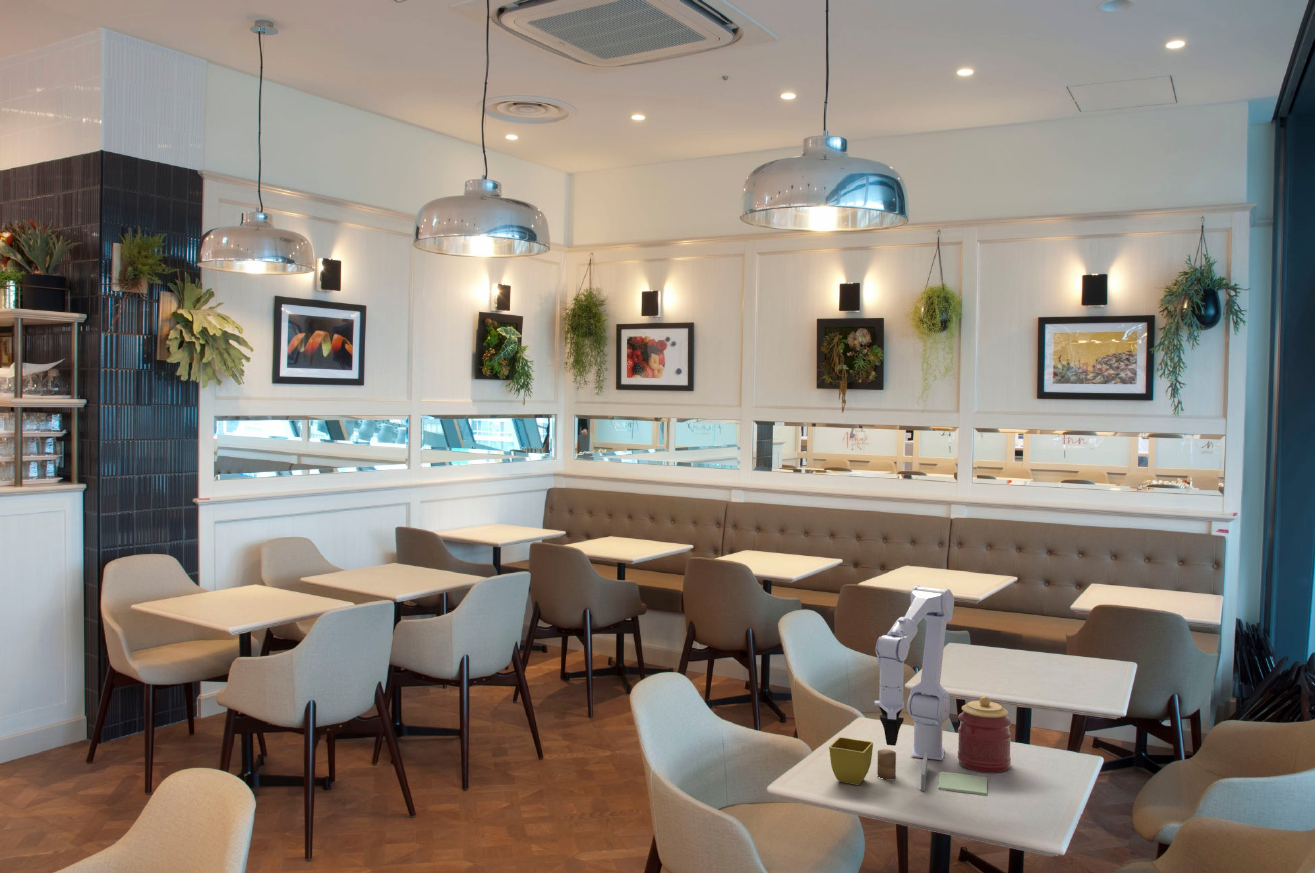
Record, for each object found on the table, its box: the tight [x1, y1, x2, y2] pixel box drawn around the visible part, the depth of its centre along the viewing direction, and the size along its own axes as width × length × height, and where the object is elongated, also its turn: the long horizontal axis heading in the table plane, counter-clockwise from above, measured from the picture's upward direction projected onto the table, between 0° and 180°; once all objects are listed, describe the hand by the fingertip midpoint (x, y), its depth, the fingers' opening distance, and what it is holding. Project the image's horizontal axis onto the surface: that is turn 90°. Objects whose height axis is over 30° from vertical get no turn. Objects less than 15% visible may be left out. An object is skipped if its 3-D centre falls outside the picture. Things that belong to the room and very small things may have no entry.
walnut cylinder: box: [876, 748, 897, 780], centre depth 238 cm, size 4×4×6 cm
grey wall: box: [920, 753, 929, 792], centre depth 236 cm, size 16×1×4 cm, turn 162°
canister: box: [957, 695, 1012, 774], centre depth 247 cm, size 13×13×18 cm
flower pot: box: [828, 736, 874, 786], centre depth 235 cm, size 9×9×9 cm
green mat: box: [937, 771, 988, 796], centre depth 234 cm, size 11×11×1 cm
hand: (890, 739), depth 237 cm, fingers open, 7 cm apart
